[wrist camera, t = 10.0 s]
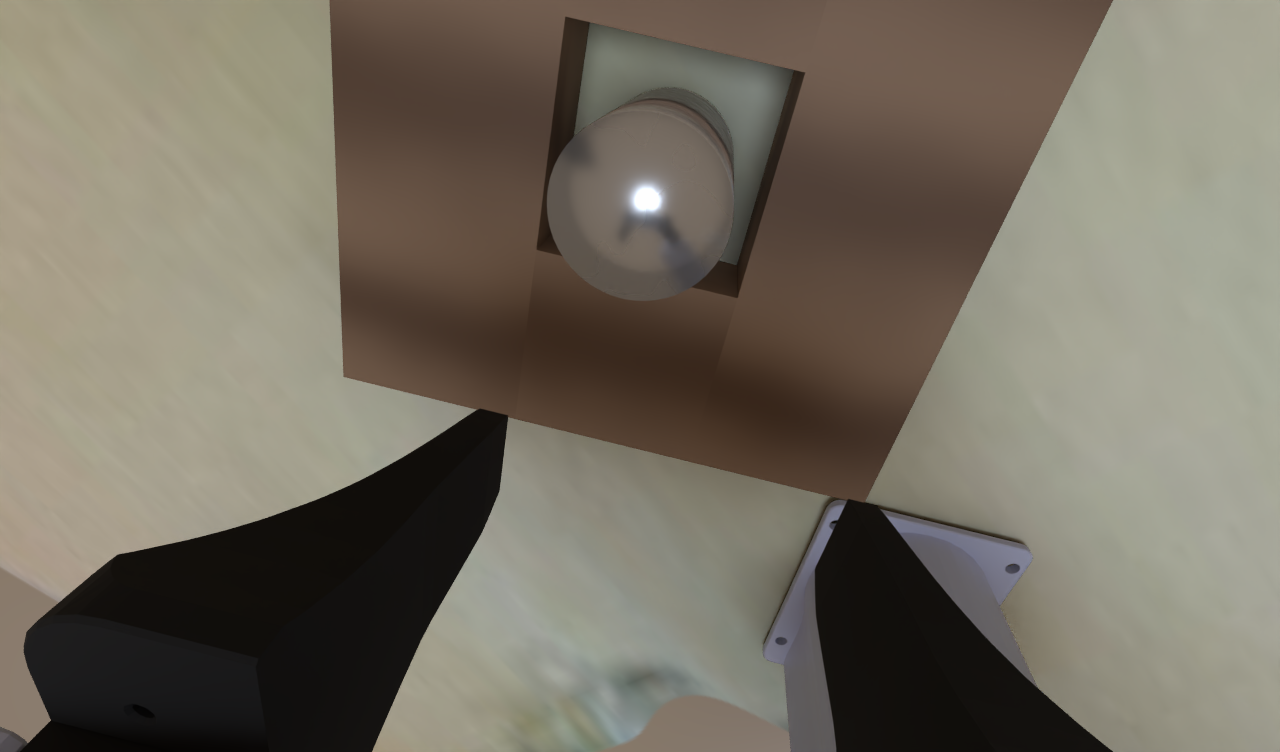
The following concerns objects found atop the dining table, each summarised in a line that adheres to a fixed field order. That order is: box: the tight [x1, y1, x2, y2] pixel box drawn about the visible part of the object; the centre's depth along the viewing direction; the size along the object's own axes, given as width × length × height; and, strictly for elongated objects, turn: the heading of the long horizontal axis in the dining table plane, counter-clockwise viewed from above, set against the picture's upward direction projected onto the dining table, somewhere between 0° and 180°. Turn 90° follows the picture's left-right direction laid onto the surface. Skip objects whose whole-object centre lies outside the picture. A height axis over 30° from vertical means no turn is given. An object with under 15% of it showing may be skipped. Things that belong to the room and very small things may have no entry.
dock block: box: [330, 0, 1113, 503], centre depth 18 cm, size 18×18×3 cm
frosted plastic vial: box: [547, 87, 734, 301], centre depth 16 cm, size 4×4×7 cm
